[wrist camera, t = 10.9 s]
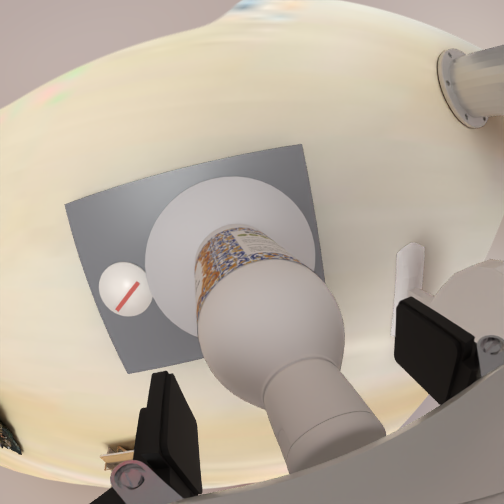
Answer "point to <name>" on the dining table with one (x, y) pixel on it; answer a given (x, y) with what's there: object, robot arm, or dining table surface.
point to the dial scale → (183, 243)
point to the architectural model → (116, 458)
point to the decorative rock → (8, 440)
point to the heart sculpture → (455, 293)
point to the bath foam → (279, 345)
